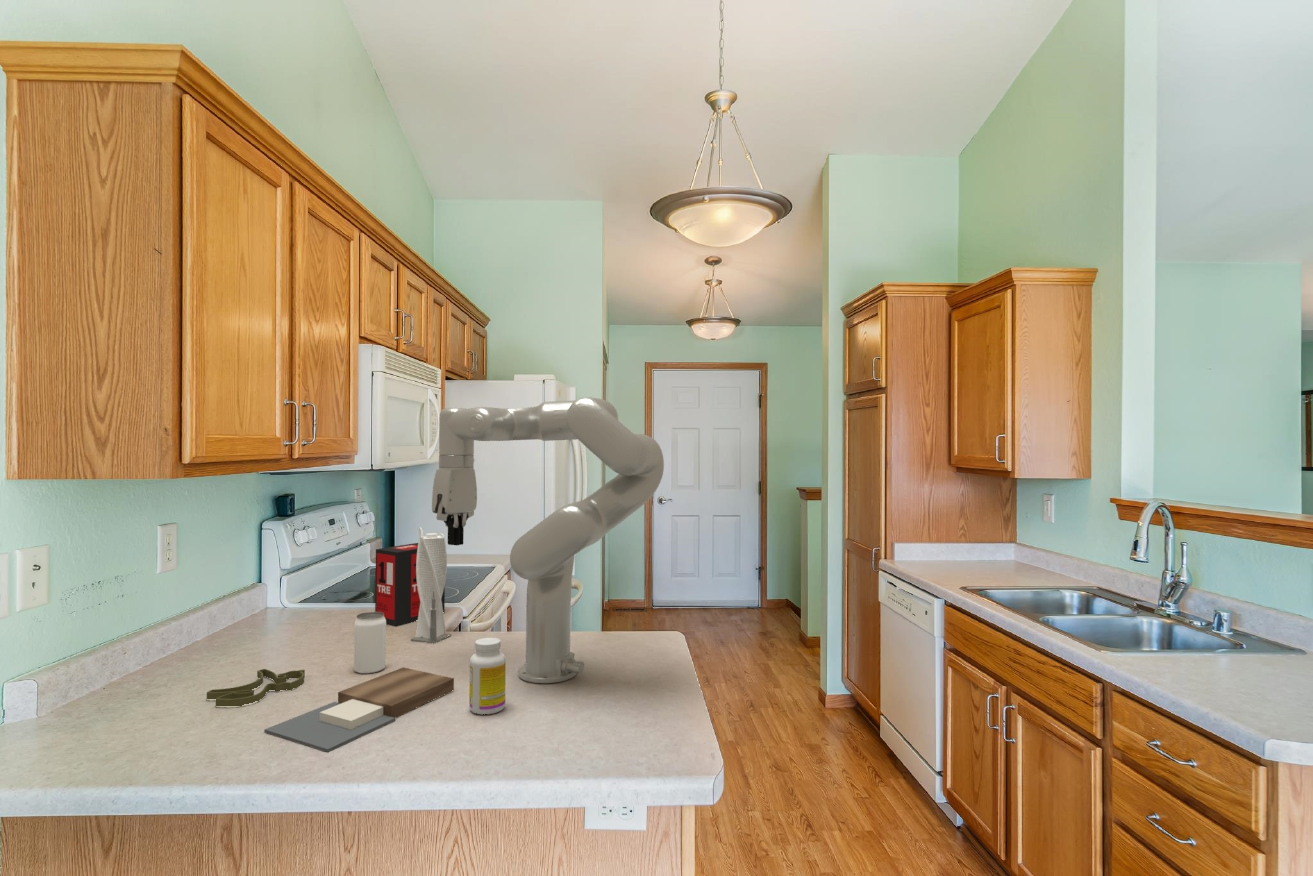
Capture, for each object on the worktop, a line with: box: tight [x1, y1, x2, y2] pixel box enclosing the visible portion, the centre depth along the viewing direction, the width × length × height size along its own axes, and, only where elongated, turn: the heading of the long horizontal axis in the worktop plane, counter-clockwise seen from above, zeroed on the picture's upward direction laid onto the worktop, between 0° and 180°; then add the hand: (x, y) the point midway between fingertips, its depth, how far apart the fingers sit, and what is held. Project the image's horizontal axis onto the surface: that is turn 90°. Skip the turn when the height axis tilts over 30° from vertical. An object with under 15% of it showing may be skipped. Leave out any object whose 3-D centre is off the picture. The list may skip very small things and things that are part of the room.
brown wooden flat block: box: [337, 667, 455, 719], centre depth 135 cm, size 14×16×2 cm
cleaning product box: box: [374, 542, 446, 628], centre depth 194 cm, size 16×9×20 cm, turn 149°
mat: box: [263, 701, 396, 753], centre depth 121 cm, size 16×14×1 cm
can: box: [353, 611, 387, 675], centre depth 151 cm, size 6×6×12 cm
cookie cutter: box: [206, 668, 306, 707], centre depth 137 cm, size 18×12×2 cm, turn 166°
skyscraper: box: [410, 526, 452, 645], centre depth 175 cm, size 8×8×28 cm
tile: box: [320, 699, 383, 729], centre depth 124 cm, size 8×7×2 cm
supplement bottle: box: [468, 637, 507, 715], centre depth 130 cm, size 7×7×13 cm
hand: (455, 544), depth 154 cm, fingers closed
